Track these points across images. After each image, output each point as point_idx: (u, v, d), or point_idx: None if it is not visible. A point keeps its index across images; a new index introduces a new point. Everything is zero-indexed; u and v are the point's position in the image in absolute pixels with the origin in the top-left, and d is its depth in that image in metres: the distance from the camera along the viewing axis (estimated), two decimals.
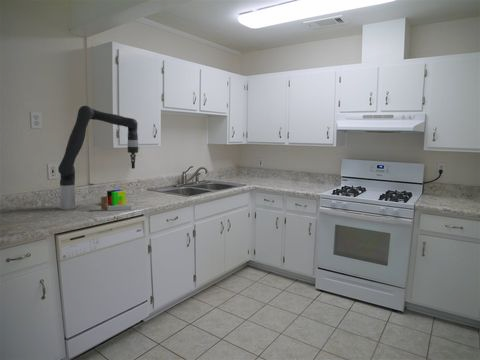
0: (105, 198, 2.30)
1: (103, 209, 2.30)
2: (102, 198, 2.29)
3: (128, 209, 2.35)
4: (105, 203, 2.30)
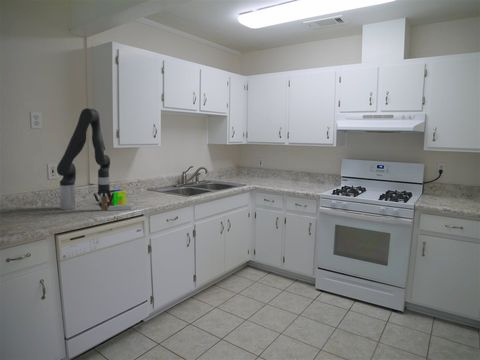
0: (105, 198, 2.30)
1: (103, 209, 2.30)
2: (102, 198, 2.29)
3: (128, 209, 2.35)
4: (105, 203, 2.30)
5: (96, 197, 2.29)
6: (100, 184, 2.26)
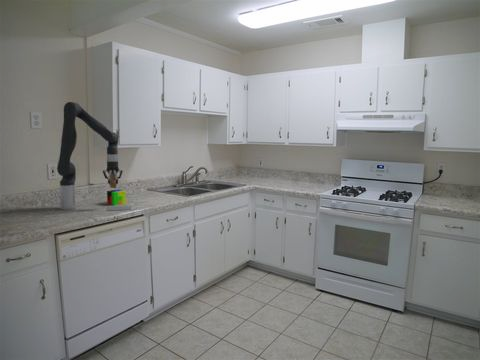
0: (114, 175, 2.32)
1: (112, 186, 2.33)
2: (111, 175, 2.32)
3: (128, 209, 2.35)
4: (114, 180, 2.33)
5: (105, 174, 2.31)
6: (109, 161, 2.29)
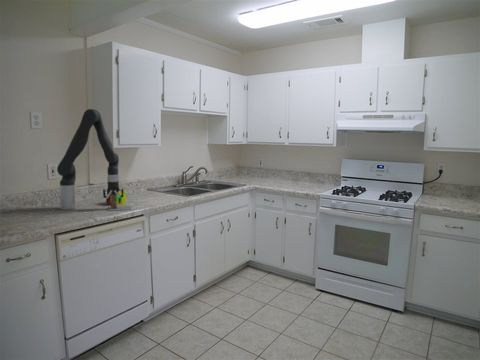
0: (114, 196, 2.34)
1: (112, 207, 2.35)
2: (111, 196, 2.34)
3: (128, 209, 2.35)
4: (114, 201, 2.35)
5: (104, 193, 2.33)
6: (110, 181, 2.31)
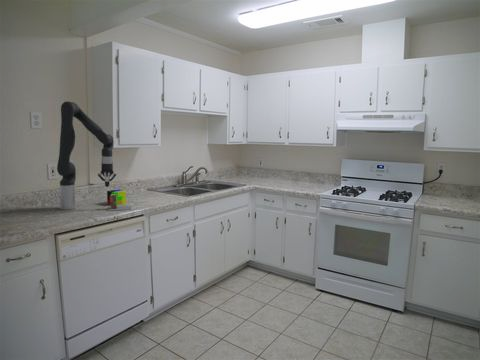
0: (114, 196, 2.34)
1: (112, 207, 2.35)
2: (111, 196, 2.34)
3: (128, 209, 2.35)
4: (114, 201, 2.35)
5: (101, 177, 2.31)
6: (103, 163, 2.28)
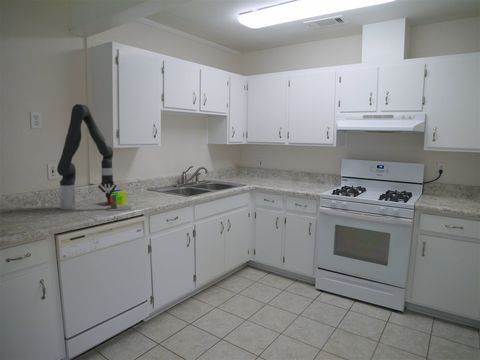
0: (114, 196, 2.34)
1: (112, 207, 2.35)
2: (112, 196, 2.34)
3: (128, 209, 2.35)
4: (114, 201, 2.35)
5: (101, 188, 2.32)
6: (103, 175, 2.29)
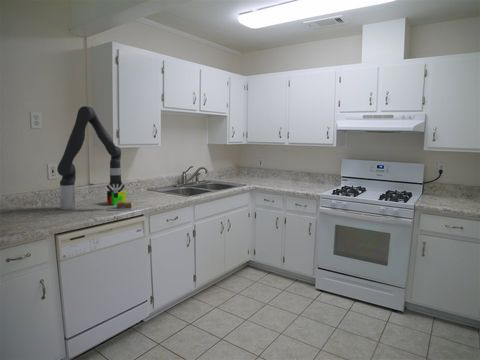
0: (129, 206, 2.38)
1: (118, 205, 2.36)
2: (129, 204, 2.38)
3: (128, 209, 2.35)
4: (124, 207, 2.37)
5: (110, 188, 2.33)
6: (112, 175, 2.31)
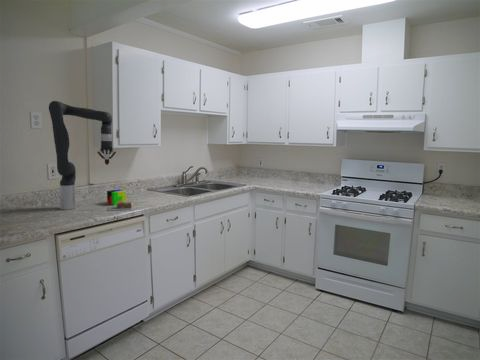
0: (129, 206, 2.38)
1: (118, 205, 2.36)
2: (129, 204, 2.38)
3: (128, 209, 2.35)
4: (124, 207, 2.37)
5: (101, 154, 2.32)
6: (103, 140, 2.29)
